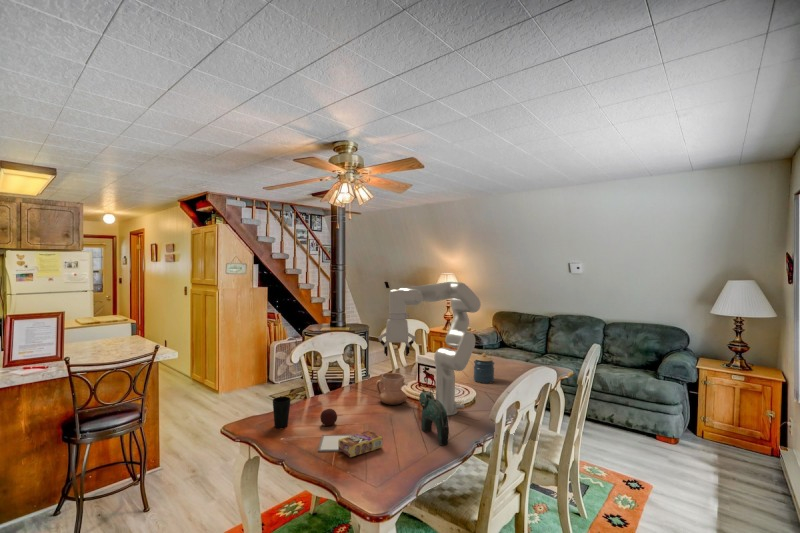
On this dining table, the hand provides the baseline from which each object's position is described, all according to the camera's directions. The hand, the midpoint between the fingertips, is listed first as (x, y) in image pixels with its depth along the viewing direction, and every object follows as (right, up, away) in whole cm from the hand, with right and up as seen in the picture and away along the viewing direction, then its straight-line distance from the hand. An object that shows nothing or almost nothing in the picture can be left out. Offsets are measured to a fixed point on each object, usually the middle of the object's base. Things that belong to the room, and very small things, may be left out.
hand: (396, 355), depth 177 cm
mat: (-20, -32, -17) cm, 41 cm away
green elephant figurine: (+16, -33, -9) cm, 38 cm away
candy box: (-8, -29, -18) cm, 35 cm away
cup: (-52, -31, -2) cm, 60 cm away
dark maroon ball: (-31, -32, +1) cm, 44 cm away
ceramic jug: (-3, -32, +32) cm, 46 cm away
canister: (+55, -33, +74) cm, 98 cm away
